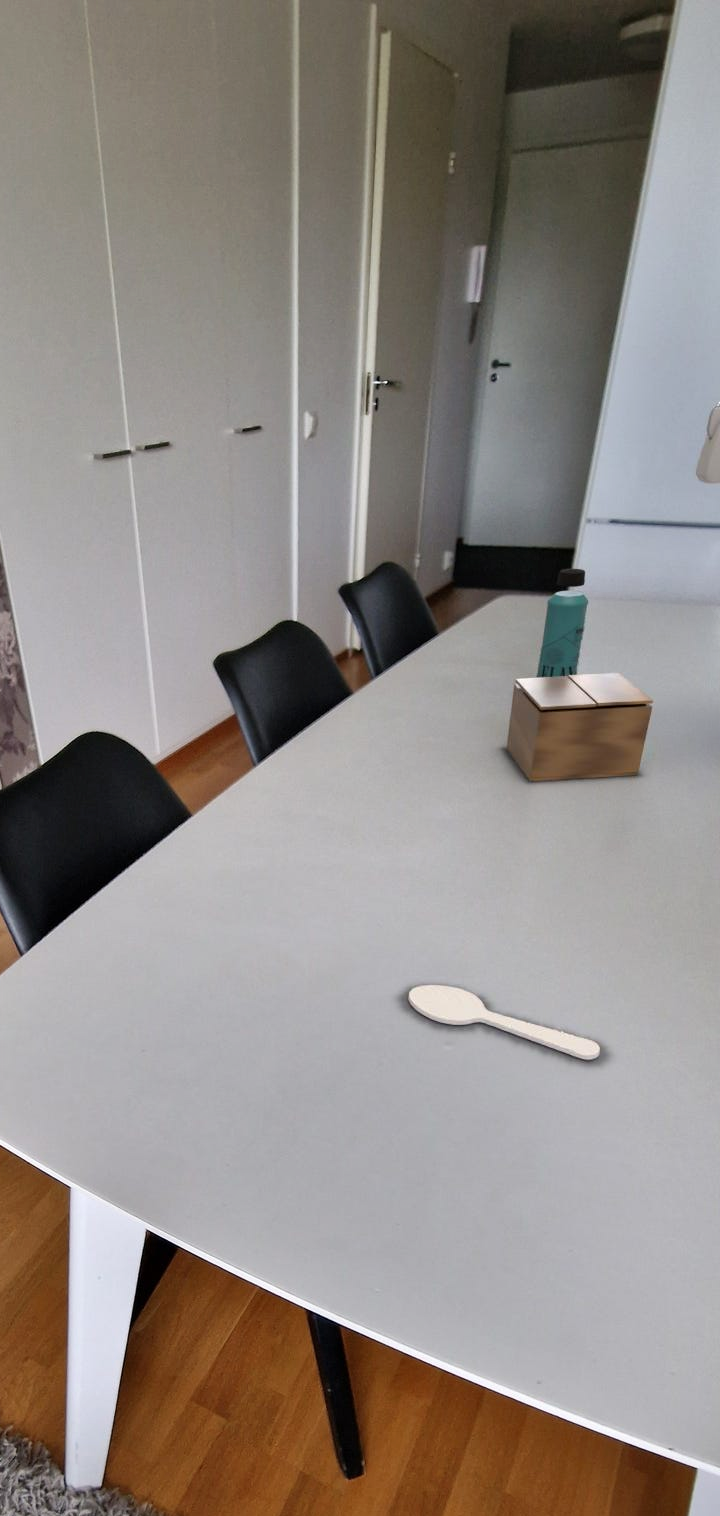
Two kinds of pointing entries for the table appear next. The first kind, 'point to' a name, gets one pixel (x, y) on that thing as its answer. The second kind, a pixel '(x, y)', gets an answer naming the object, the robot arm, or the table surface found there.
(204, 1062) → the table surface
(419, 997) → the spoon
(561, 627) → the beverage bottle
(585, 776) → the carton
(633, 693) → the flap
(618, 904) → the table surface
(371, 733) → the table surface
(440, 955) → the table surface
